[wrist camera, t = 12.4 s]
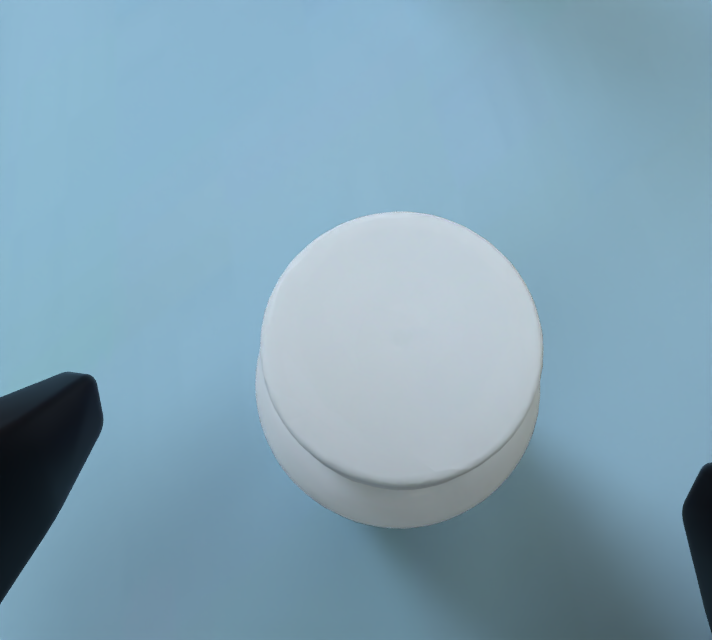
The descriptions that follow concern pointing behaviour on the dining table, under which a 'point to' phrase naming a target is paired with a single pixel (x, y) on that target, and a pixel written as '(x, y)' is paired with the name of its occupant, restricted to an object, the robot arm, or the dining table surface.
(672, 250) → the dining table surface
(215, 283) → the dining table surface
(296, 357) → the pill bottle
